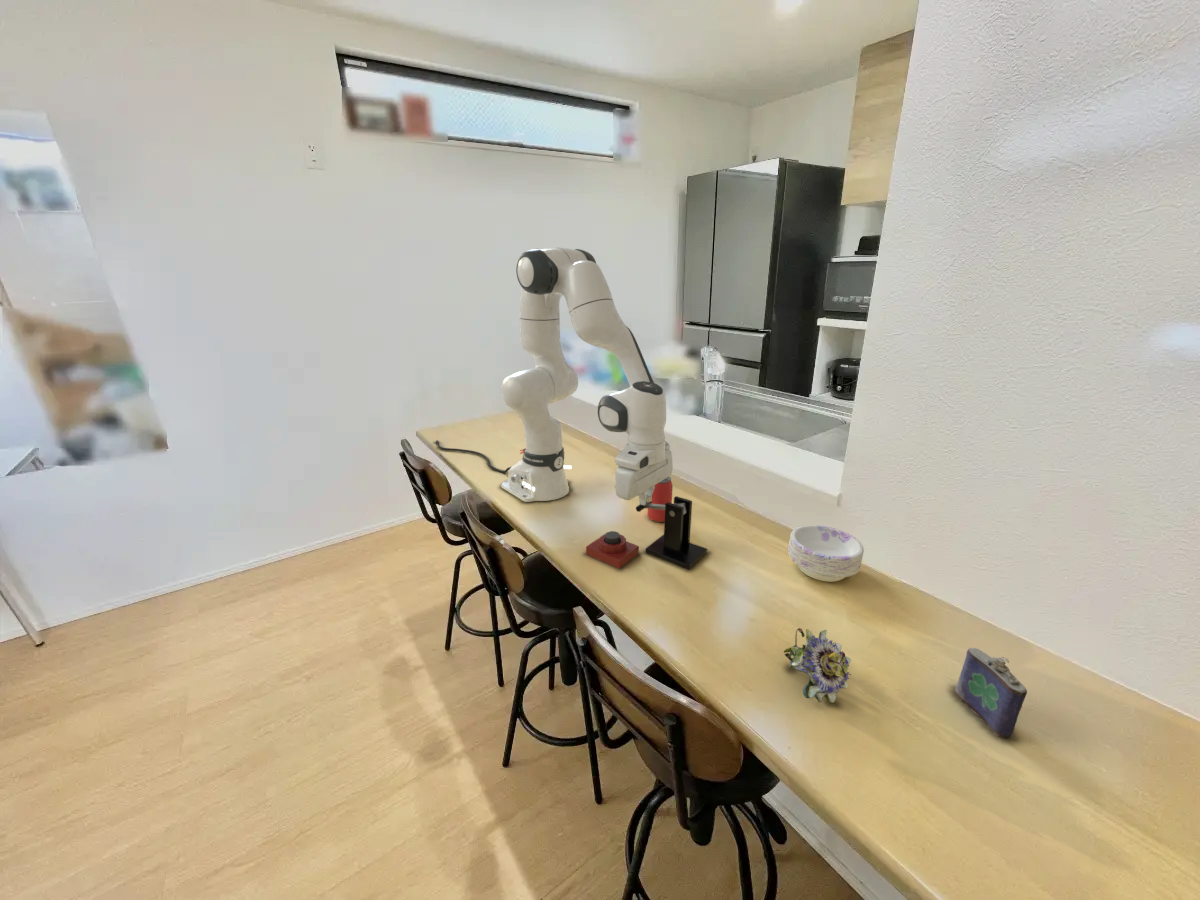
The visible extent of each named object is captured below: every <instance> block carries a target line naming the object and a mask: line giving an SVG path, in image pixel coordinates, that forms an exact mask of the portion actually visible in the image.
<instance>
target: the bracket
mask: <svg viewBox="0 0 1200 900" xmlns="http://www.w3.org/2000/svg"><path fill="white" fill-rule="evenodd" d="M675 502H678V503H685V505H686V512H687V513H685V514H684V515H683V513H684V507H682V506H679V505H675V504H673V503H675ZM692 509H693V501H692V500H690V499H688V498H684V497H680V496H674V497H673V502H672V503H669V502H667V503H665V521H664V527H663V535H661V536H660V537H659V538H658V539H656V540H655V541H653V542H652V543H651V544H649V545H648V546H647V547H646V548H645V554H648V555H651V556H654V557H656V558H659V559H661V560H664V561H665V562H669V563H671V564H673V565H676V566H678V567H681V568H684V569H686V570H690V569H692V567H694V566H695V565H696V564H697V563H698V562H699V561H700V560H701V559H702V558H703V557H704V556H706V555H707V553H708V548H706V547H704V546H700V545H698V544H694V543H692V542H690V541H691V526H692V512H693V511H692Z"/></svg>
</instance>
